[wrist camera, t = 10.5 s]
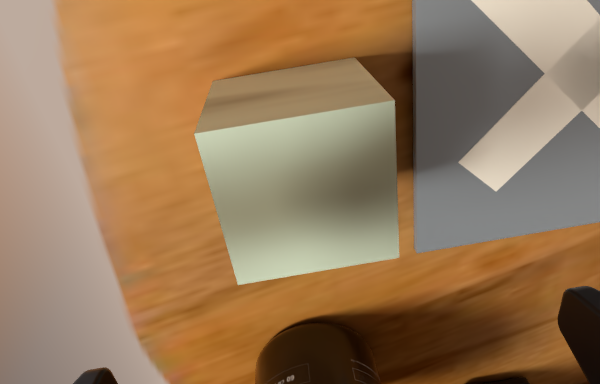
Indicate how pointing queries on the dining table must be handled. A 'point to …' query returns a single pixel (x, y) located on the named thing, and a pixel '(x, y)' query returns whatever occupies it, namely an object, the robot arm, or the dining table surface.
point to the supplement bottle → (317, 357)
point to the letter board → (504, 118)
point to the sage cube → (302, 169)
